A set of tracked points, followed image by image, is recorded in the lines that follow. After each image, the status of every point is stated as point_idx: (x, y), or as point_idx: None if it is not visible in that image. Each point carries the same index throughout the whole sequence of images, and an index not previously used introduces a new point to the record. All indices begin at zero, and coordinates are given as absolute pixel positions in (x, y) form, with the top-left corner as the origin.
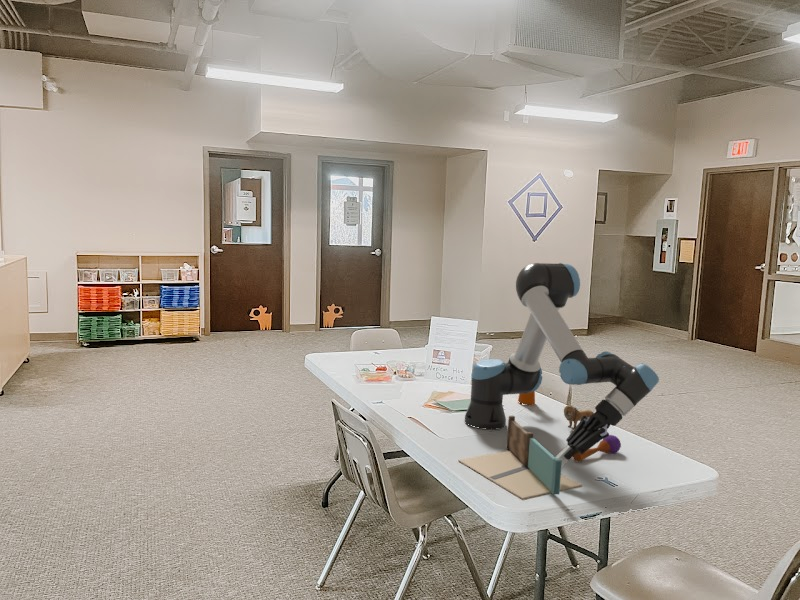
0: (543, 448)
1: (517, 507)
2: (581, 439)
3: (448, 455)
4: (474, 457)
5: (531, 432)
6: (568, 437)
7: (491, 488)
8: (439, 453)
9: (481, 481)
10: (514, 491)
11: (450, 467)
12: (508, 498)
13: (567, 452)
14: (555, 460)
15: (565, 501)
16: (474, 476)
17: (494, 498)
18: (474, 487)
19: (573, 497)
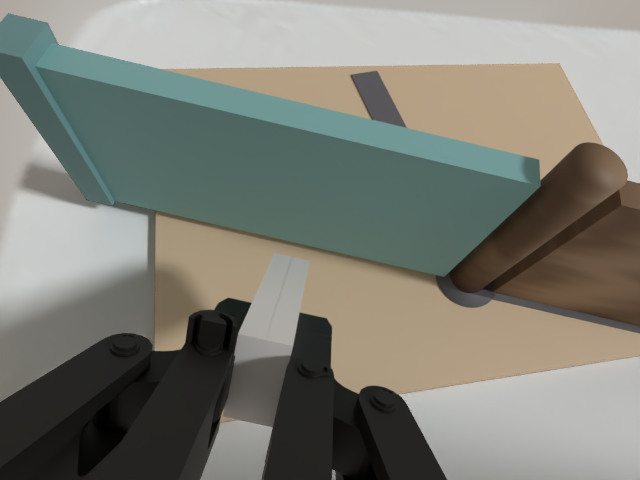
0: (298, 115)
1: (108, 29)
2: (125, 435)
3: (612, 66)
4: (586, 122)
5: (617, 184)
6: (407, 423)
7: (289, 40)
8: (630, 51)
9: (357, 43)
10: (222, 77)
11: (496, 23)
12: (188, 43)
13: (242, 323)
14: (12, 16)
15: (45, 213)
16: (405, 46)
17: (209, 9)
18: (314, 4)
19: (58, 278)
